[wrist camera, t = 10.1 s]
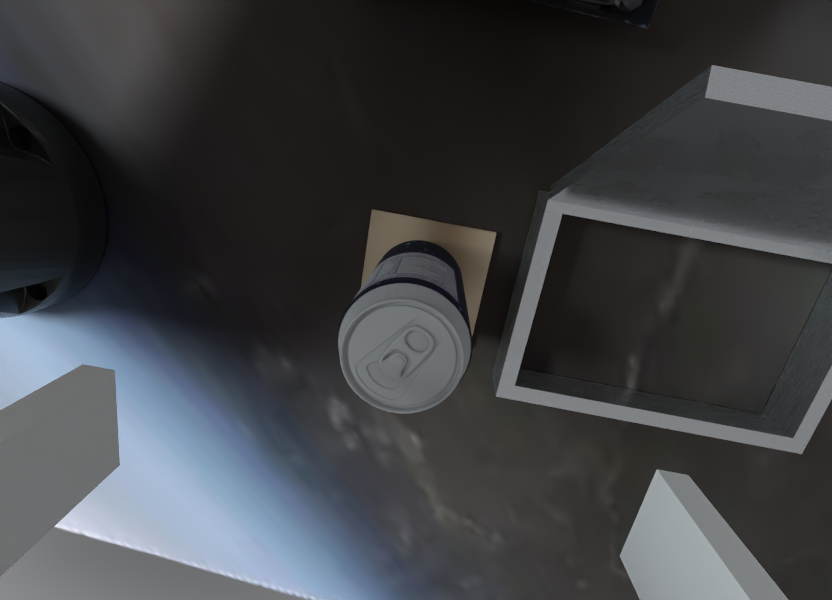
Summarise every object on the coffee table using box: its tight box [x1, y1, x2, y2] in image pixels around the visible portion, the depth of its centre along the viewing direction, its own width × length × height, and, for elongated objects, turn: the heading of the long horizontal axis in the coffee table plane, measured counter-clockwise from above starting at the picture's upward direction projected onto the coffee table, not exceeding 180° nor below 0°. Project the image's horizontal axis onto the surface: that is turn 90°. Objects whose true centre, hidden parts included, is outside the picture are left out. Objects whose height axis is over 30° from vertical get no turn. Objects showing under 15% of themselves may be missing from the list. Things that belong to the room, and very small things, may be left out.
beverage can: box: [337, 240, 473, 414], centre depth 22 cm, size 6×6×12 cm
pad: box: [361, 209, 496, 336], centre depth 28 cm, size 8×8×1 cm
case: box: [491, 65, 832, 454], centre depth 20 cm, size 20×17×16 cm
